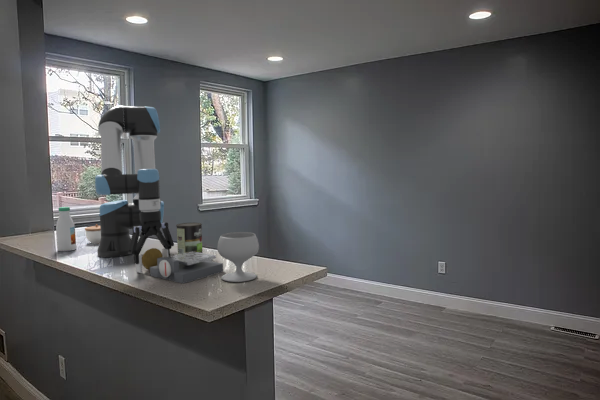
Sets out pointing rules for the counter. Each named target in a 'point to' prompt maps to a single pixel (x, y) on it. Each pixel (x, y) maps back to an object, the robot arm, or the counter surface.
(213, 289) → the counter surface
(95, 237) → the lidded jar
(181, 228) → the coffee can
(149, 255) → the potato
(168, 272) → the scale base
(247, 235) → the chalice
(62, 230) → the milk bottle
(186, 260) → the platform
